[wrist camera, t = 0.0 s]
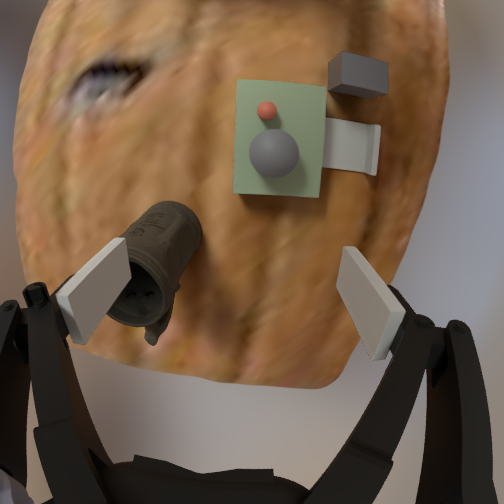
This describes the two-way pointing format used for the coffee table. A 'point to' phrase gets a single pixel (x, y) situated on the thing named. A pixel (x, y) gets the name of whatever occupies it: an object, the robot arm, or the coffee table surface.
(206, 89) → the coffee table surface
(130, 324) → the beer stein
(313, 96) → the green base with dome
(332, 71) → the tall grey cuboid
